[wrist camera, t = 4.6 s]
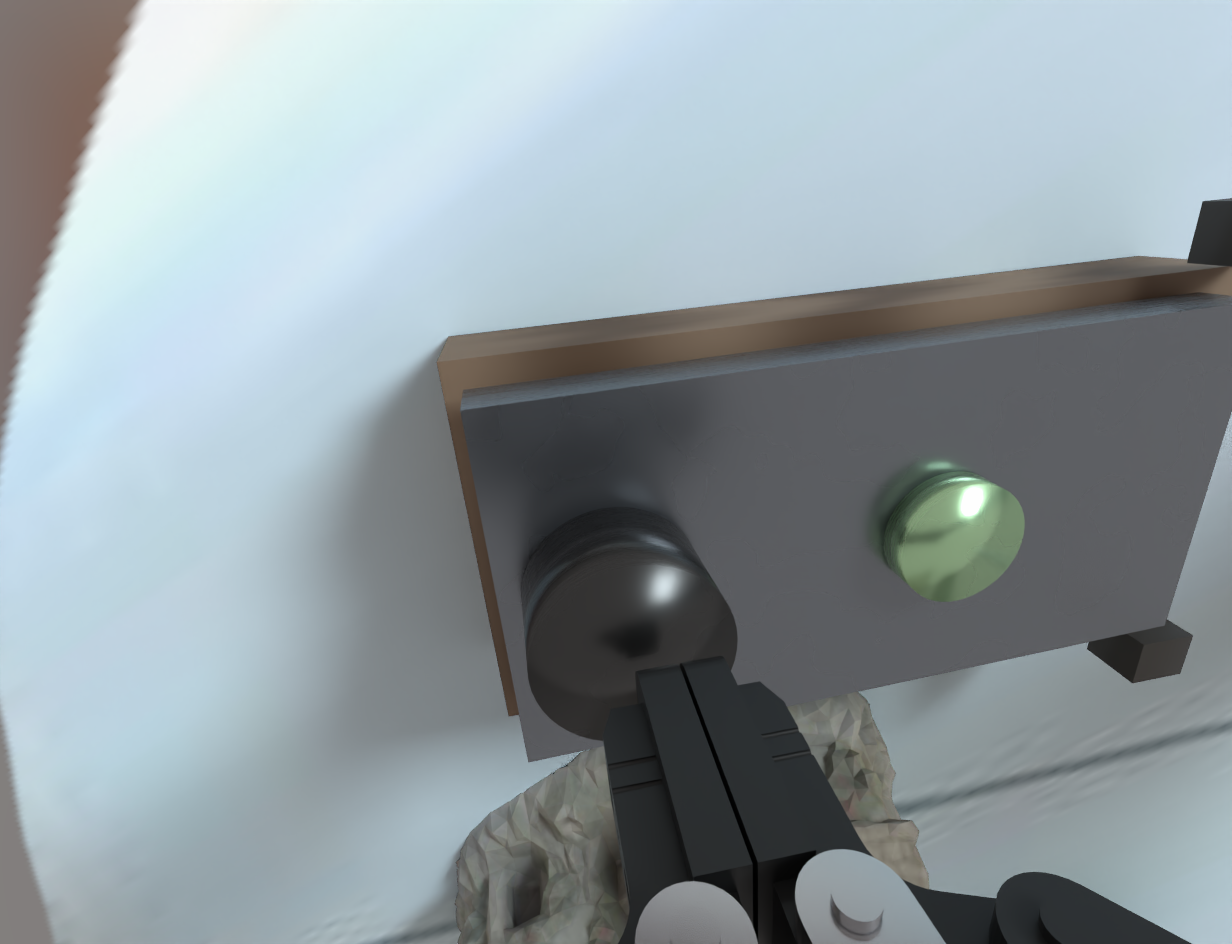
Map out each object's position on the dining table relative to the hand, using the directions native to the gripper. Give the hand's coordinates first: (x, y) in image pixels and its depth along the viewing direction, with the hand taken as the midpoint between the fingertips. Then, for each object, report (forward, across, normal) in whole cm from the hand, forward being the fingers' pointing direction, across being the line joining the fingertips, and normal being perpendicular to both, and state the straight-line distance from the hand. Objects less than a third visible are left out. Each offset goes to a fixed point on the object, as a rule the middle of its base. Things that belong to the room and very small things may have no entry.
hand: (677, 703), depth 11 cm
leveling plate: (+5, -6, 0) cm, 8 cm away
